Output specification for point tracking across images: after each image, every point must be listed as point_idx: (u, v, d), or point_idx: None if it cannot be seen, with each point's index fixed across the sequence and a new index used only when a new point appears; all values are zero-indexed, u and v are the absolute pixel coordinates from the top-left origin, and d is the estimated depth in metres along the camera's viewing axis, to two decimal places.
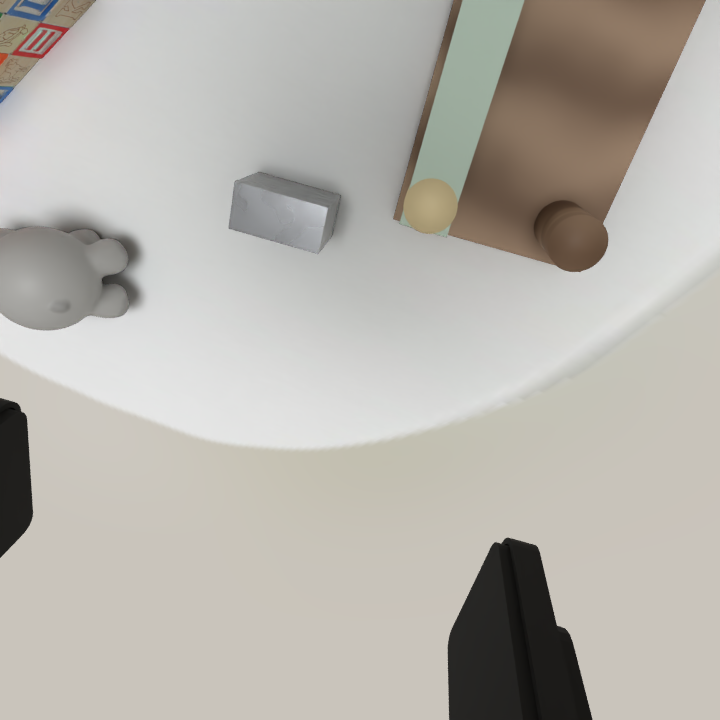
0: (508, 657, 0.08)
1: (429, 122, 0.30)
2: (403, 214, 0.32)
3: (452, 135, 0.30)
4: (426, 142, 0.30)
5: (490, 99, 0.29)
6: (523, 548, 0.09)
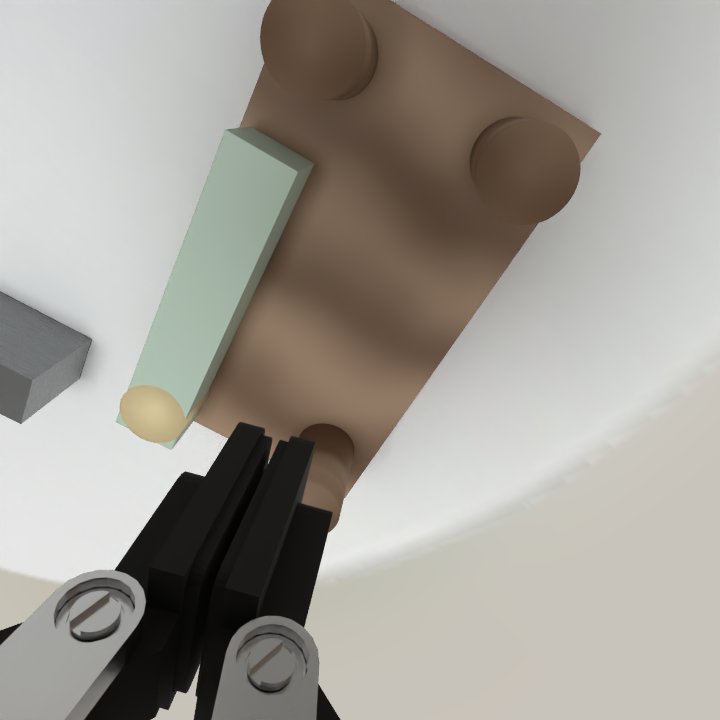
0: None
1: (152, 328, 0.23)
2: (120, 414, 0.26)
3: (180, 349, 0.24)
4: (149, 347, 0.24)
5: (226, 324, 0.23)
6: (299, 442, 0.10)
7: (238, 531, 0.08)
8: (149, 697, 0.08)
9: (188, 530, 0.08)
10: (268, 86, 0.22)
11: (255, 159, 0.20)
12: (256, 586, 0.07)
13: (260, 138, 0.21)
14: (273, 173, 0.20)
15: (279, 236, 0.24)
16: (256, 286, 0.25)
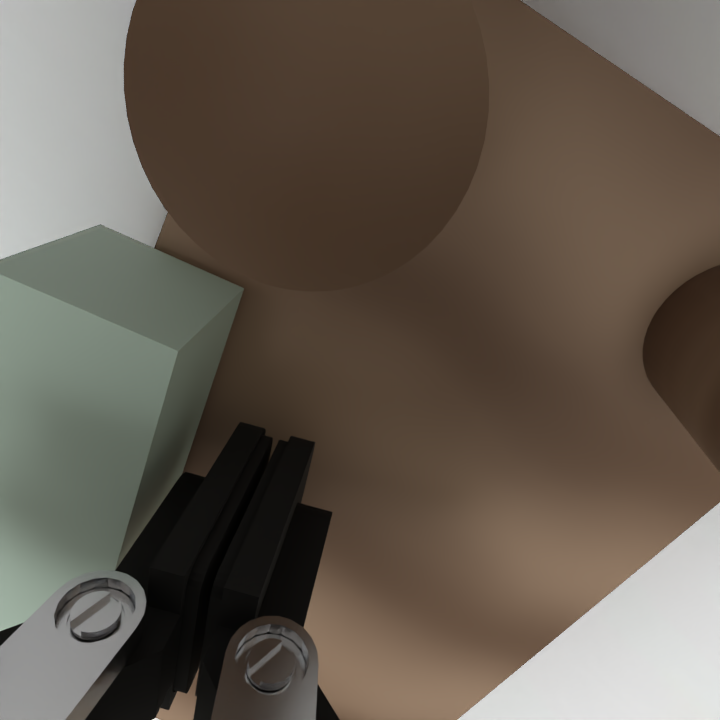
0: None
1: None
2: None
3: None
4: None
5: None
6: (299, 442, 0.10)
7: (239, 531, 0.08)
8: (150, 697, 0.08)
9: (189, 530, 0.08)
10: None
11: (70, 329, 0.08)
12: (256, 586, 0.07)
13: (108, 257, 0.09)
14: (120, 357, 0.08)
15: (195, 428, 0.12)
16: None
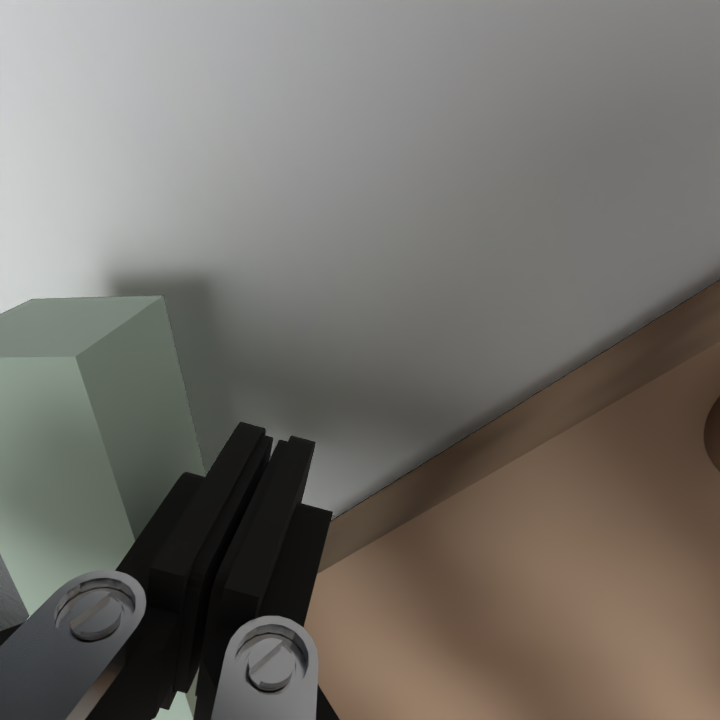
0: None
1: None
2: None
3: None
4: None
5: None
6: (299, 442, 0.10)
7: (238, 531, 0.08)
8: (149, 697, 0.08)
9: (188, 530, 0.08)
10: (630, 416, 0.11)
11: None
12: (255, 587, 0.07)
13: (30, 317, 0.10)
14: (40, 385, 0.09)
15: (193, 443, 0.12)
16: None
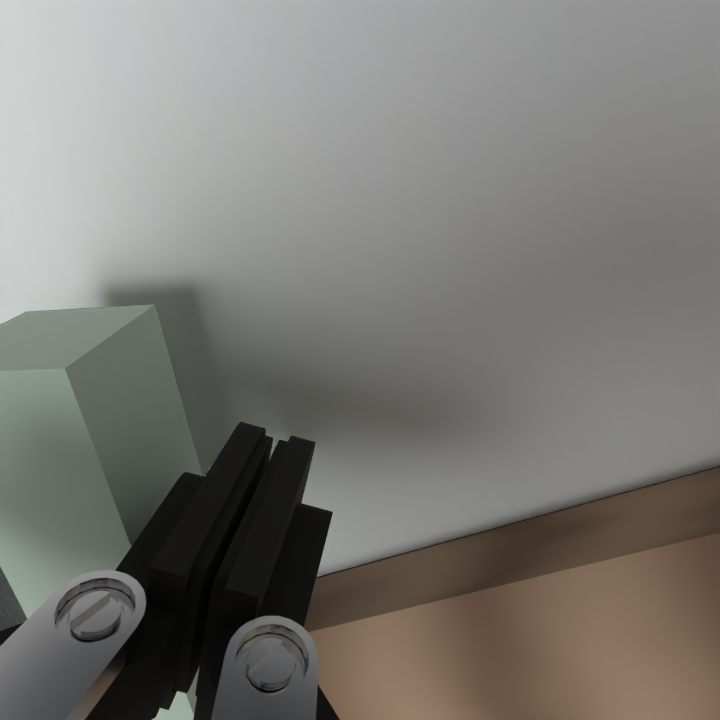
0: None
1: None
2: None
3: None
4: None
5: None
6: (299, 442, 0.10)
7: (238, 531, 0.08)
8: (149, 697, 0.08)
9: (188, 530, 0.08)
10: None
11: None
12: (256, 587, 0.07)
13: (23, 330, 0.10)
14: (31, 398, 0.09)
15: (190, 451, 0.12)
16: None
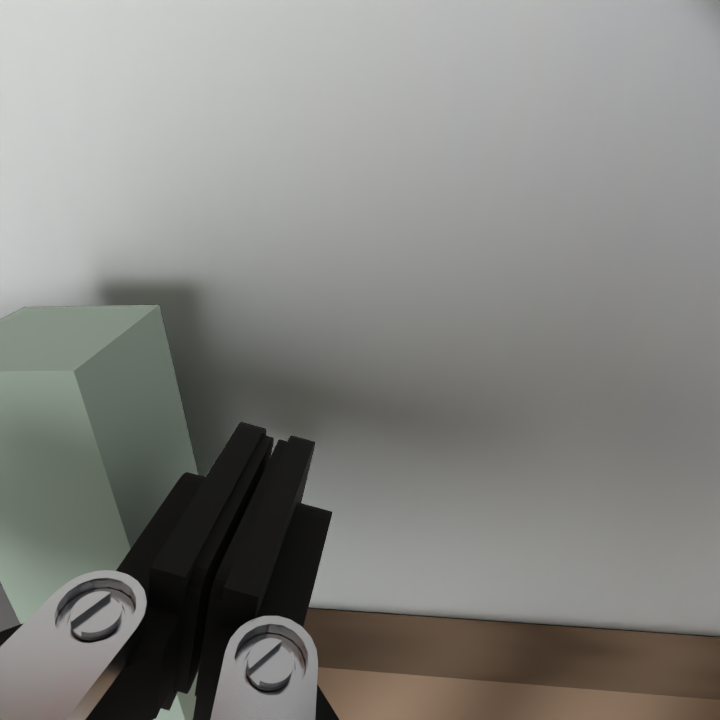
0: None
1: None
2: None
3: None
4: None
5: None
6: (299, 442, 0.10)
7: (239, 532, 0.08)
8: (150, 698, 0.08)
9: (189, 531, 0.08)
10: None
11: None
12: (255, 586, 0.07)
13: (24, 327, 0.10)
14: (36, 399, 0.09)
15: (188, 452, 0.12)
16: None
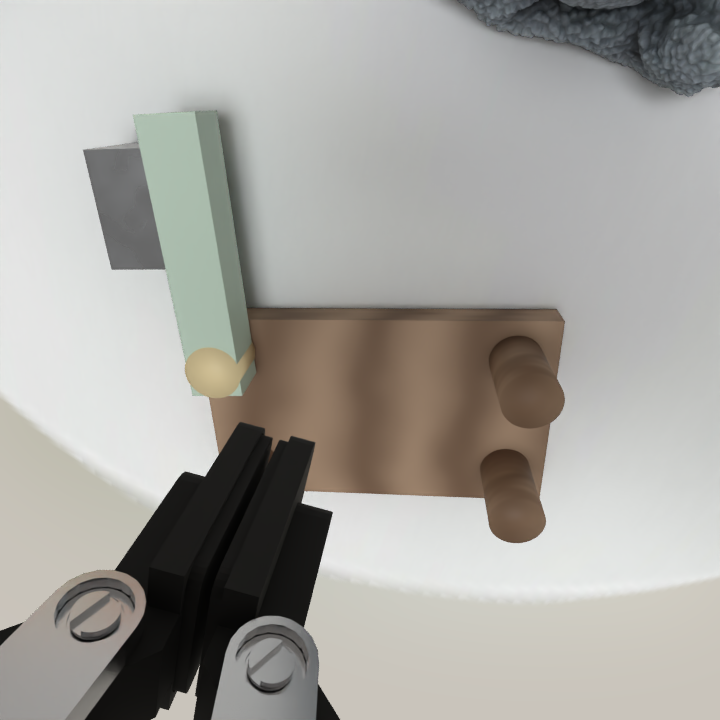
0: None
1: (173, 301, 0.29)
2: (191, 386, 0.31)
3: (200, 306, 0.29)
4: (180, 318, 0.29)
5: (218, 265, 0.28)
6: (299, 442, 0.10)
7: (238, 531, 0.08)
8: (149, 697, 0.08)
9: (188, 530, 0.08)
10: (478, 328, 0.31)
11: (163, 122, 0.25)
12: (256, 587, 0.07)
13: None
14: (180, 124, 0.25)
15: (226, 182, 0.28)
16: (234, 233, 0.30)
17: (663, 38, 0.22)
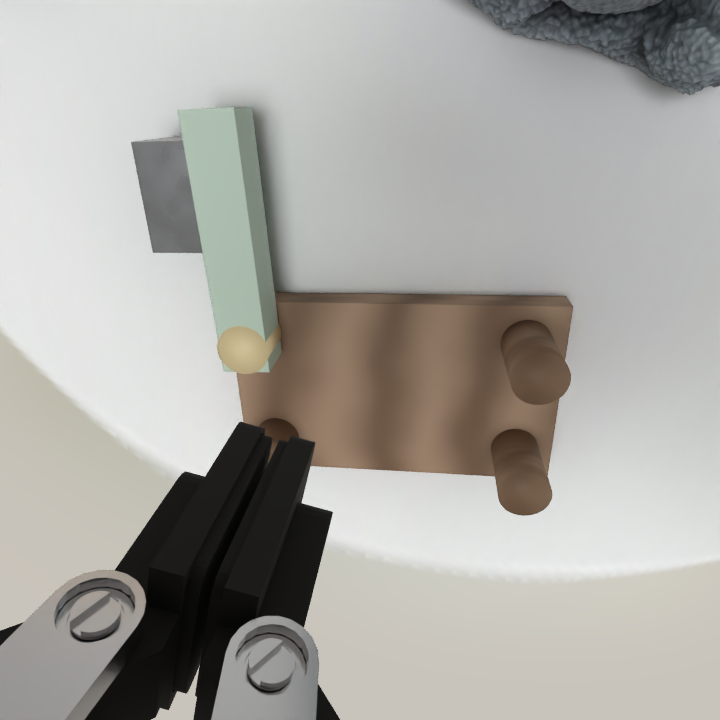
0: None
1: (209, 282, 0.31)
2: (223, 362, 0.33)
3: (233, 287, 0.31)
4: (214, 298, 0.32)
5: (251, 249, 0.30)
6: (299, 442, 0.10)
7: (238, 531, 0.08)
8: (149, 697, 0.08)
9: (188, 530, 0.08)
10: (491, 312, 0.33)
11: (204, 117, 0.27)
12: (256, 586, 0.07)
13: None
14: (220, 118, 0.27)
15: (258, 173, 0.31)
16: (264, 221, 0.32)
17: (666, 41, 0.24)
